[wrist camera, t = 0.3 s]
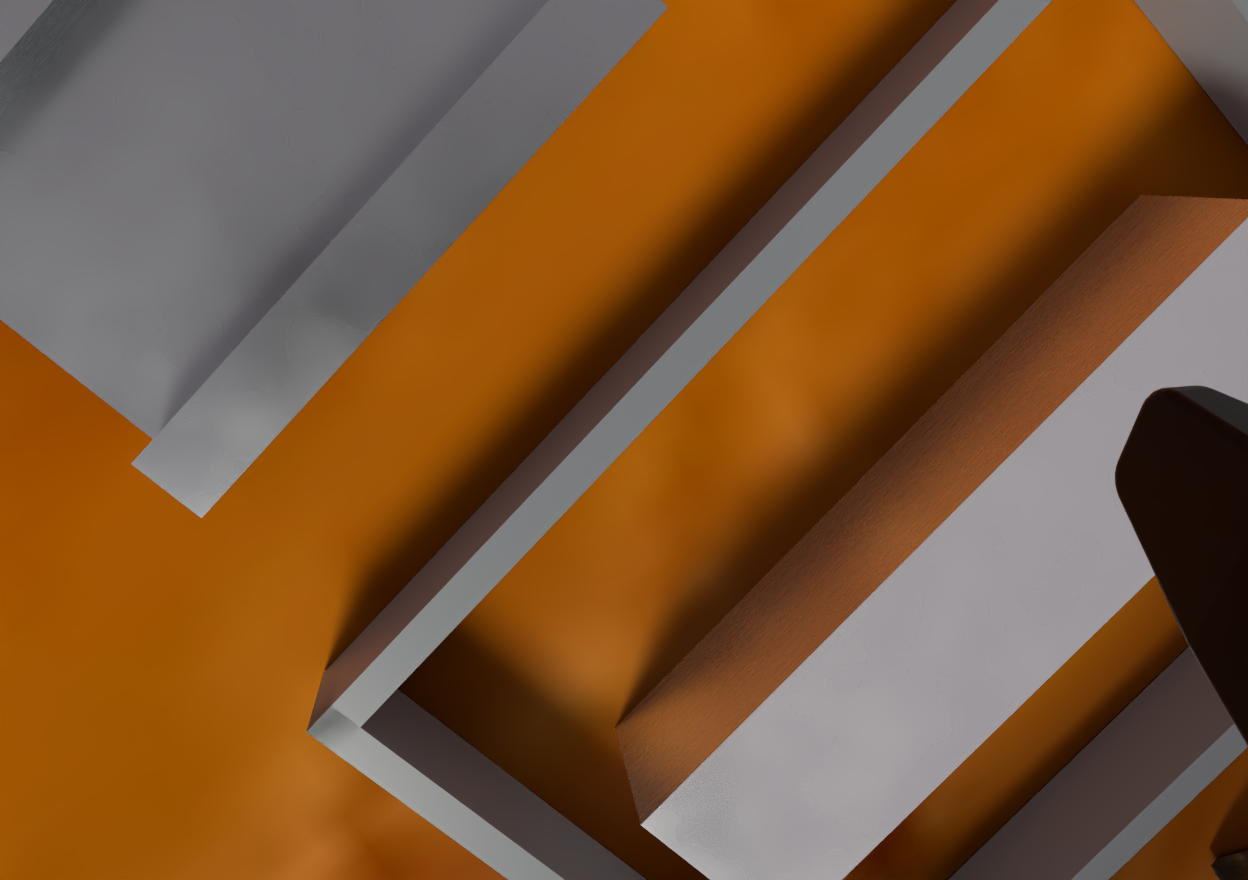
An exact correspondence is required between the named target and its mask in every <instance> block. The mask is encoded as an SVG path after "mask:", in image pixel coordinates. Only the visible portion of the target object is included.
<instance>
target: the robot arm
mask: <svg viewBox="0 0 1248 880" xmlns="http://www.w3.org/2000/svg"><path fill="white" fill-rule="evenodd" d="M1115 485H1116V490H1117V493H1118V496H1119V499H1120V501H1121V503H1122V505H1123V507H1124V509H1125V511H1126V514H1127V516H1128V518H1129V520H1130V522H1131V524H1132V526H1133V529H1134V531H1135V533H1136V535H1137V537H1138V539H1139V542H1140V544H1141V546H1142V548H1143V550H1144V552H1145V554H1146V557H1147V559H1148V561H1149V563H1150V565H1151V567H1152V569H1153V572H1154V574H1155V576H1156V578H1157V580H1158V582H1159V584H1160V587H1161V589H1162V591H1163V593H1164V595H1165V597H1166V599H1167V602H1168V604H1169V606H1170V608H1171V610H1172V612H1173V614H1174V617H1175V619H1176V621H1177V623H1178V625H1179V627H1180V629H1181V631H1182V633H1183V635H1184V637H1185V639H1186V641H1187V643H1188V645H1189V647H1190V649H1191V650H1192V652H1193V654H1194V656H1195V658H1196V659H1197V661H1198V663H1199V665H1200V666H1201V668H1202V670H1203V672H1204V673H1205V675H1206V677H1207V678H1208V680H1209V682H1210V683H1211V685H1212V687H1213V689H1214V690H1215V692H1216V694H1217V695H1218V697H1219V699H1220V700H1221V702H1222V704H1223V705H1224V707H1225V709H1226V710H1227V712H1228V714H1229V715H1230V717H1231V719H1232V720H1233V722H1234V724H1235V726H1236V727H1237V729H1238V731H1239V732H1240V734H1241V736H1242V737H1243V739H1244V741H1245V742H1246V744H1247V746H1248V403H1245V402H1243V401H1241V400H1238V399H1236V398H1233V397H1231V396H1229V395H1226V394H1224V393H1222V392H1219V391H1217V390H1214V389H1212V388H1209V387H1206V386H1198V385H1196V386H1181V387H1167V388H1161V389H1158V390H1156V391H1153V392H1152V393H1151V394H1150V395H1149V396H1148V397H1147V398H1146V399H1145V401H1144V403H1143V405H1142V407H1141V409H1140V411H1139V414H1138V416H1137V418H1136V420H1135V423H1134V425H1133V427H1132V430H1131V432H1130V434H1129V437H1128V439H1127V441H1126V443H1125V446H1124V448H1123V450H1122V453H1121V455H1120V457H1119V460H1118V462H1117V465H1116V470H1115Z"/></svg>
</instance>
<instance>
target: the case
mask: <svg viewBox="0 0 1248 880" xmlns="http://www.w3.org/2000/svg"><path fill="white" fill-rule="evenodd" d="M1051 1H1052V0H957V1H956V2H955V3H954V4H953V5H952V6H951V7H950V8H949V9H948V10H947V11H946V12H945V14H944V15H943V16H942V17H941V18H940V19H939V20H938V21H937V22H936V23H935V24H934V25H933V26H932V27H931V28H930V29H929V30H928V32H927V33H926V34H925V35H924V36H923V37H922V38H921V39H920V40H919V41H918V42H917V43H916V44H915V45H914V46H913V47H912V49H911V50H910V51H909V52H908V53H907V54H906V55H905V56H904V57H903V58H902V59H901V60H900V61H899V62H898V63H897V64H896V66H895V67H894V68H893V69H892V70H891V71H890V72H889V73H888V74H887V75H886V76H885V77H884V78H883V79H882V80H881V81H880V83H879V84H878V85H877V86H876V87H875V88H874V89H873V90H872V91H871V92H870V93H869V94H868V95H867V96H866V97H865V98H864V100H863V101H862V102H861V103H860V104H859V105H858V106H857V107H856V108H855V109H854V110H853V111H852V112H851V113H850V114H849V115H848V117H847V118H846V119H845V120H844V121H843V122H842V123H841V124H840V125H839V126H838V127H837V128H836V129H835V130H834V131H833V132H832V133H831V135H830V136H829V137H828V138H827V139H826V140H825V141H824V142H823V143H822V144H821V145H820V146H819V147H818V148H817V149H816V150H815V152H814V153H813V154H812V155H811V156H810V157H809V158H808V159H807V160H806V161H805V162H804V163H803V164H802V165H801V166H800V167H799V169H798V170H797V171H796V172H795V173H794V174H793V175H792V176H791V177H790V178H789V179H788V180H787V181H786V182H785V183H784V184H783V186H782V187H781V188H780V189H779V190H778V191H777V192H776V193H775V194H774V195H773V196H772V197H771V198H770V199H769V200H768V201H767V203H766V204H765V205H764V206H763V207H762V208H761V209H760V210H759V211H758V212H757V213H756V214H755V215H754V216H753V217H752V218H751V220H750V221H749V222H748V223H747V224H746V225H745V226H744V227H743V228H742V229H741V230H740V231H739V232H738V233H737V234H736V235H735V236H734V238H733V239H732V240H731V241H730V242H729V243H728V244H727V245H726V246H725V247H724V248H723V249H722V250H721V251H720V252H719V253H718V255H717V256H716V257H715V258H714V259H713V260H712V261H711V262H710V263H709V264H708V265H707V266H706V267H705V268H704V269H703V270H702V272H701V273H700V274H699V275H698V276H697V277H696V278H695V279H694V280H693V281H692V282H691V283H690V284H689V285H688V286H687V287H686V289H685V290H684V291H683V292H682V293H681V294H680V295H679V296H678V297H677V298H676V299H675V300H674V301H673V302H672V303H671V304H670V306H669V307H668V308H667V309H666V310H665V311H664V312H663V313H662V314H661V315H660V316H659V317H658V318H657V319H656V320H655V321H654V323H653V324H652V325H651V326H650V327H649V328H648V329H647V330H646V331H645V332H644V333H643V334H642V335H641V336H640V337H639V338H638V339H637V341H636V342H635V343H634V344H633V345H632V346H631V347H630V348H629V349H628V350H627V351H626V352H625V353H624V354H623V355H622V356H621V358H620V359H619V360H618V361H617V362H616V363H615V364H614V365H613V366H612V367H611V368H610V369H609V370H608V371H607V372H606V373H605V375H604V376H603V377H602V378H601V379H600V380H599V381H598V382H597V383H596V384H595V385H594V386H593V387H592V388H591V389H590V390H589V392H588V393H587V394H586V395H585V396H584V397H583V398H582V399H581V400H580V401H579V402H578V403H577V404H576V405H575V406H574V407H573V409H572V410H571V411H570V412H569V413H568V414H567V415H566V416H565V417H564V418H563V419H562V420H561V421H560V422H559V423H558V424H557V426H556V427H555V428H554V429H553V430H552V431H551V432H550V433H549V434H548V435H547V436H546V437H545V438H544V439H543V440H542V441H541V442H540V444H539V445H538V446H537V447H536V448H535V449H534V450H533V451H532V452H531V453H530V454H529V455H528V456H527V457H526V458H525V459H524V461H523V462H522V463H521V464H520V465H519V466H518V467H517V468H516V469H515V470H514V471H513V472H512V473H511V474H510V475H509V476H508V478H507V479H506V480H505V481H504V482H503V483H502V484H501V485H500V486H499V487H498V488H497V489H496V490H495V491H494V492H493V493H492V495H491V496H490V497H489V498H488V499H487V500H486V501H485V502H484V503H483V504H482V505H481V506H480V507H479V508H478V509H477V510H476V512H475V513H474V514H473V515H472V516H471V517H470V518H469V519H468V520H467V521H466V522H465V523H464V524H463V525H462V526H461V527H460V529H459V530H458V531H457V532H456V533H455V534H454V535H453V536H452V537H451V538H450V539H449V540H448V541H447V542H446V543H445V544H444V545H443V547H442V548H441V549H440V550H439V551H438V552H437V553H436V554H435V555H434V556H433V557H432V558H431V559H430V560H429V561H428V562H427V564H426V565H425V566H424V567H423V568H422V569H421V570H420V571H419V572H418V573H417V574H416V575H415V576H414V577H413V578H412V579H411V581H410V582H409V583H408V584H407V585H406V586H405V587H404V588H403V589H402V590H401V591H400V592H399V593H398V594H397V595H396V596H395V598H394V599H393V600H392V601H391V602H390V603H389V604H388V605H387V606H386V607H385V608H384V609H383V610H382V611H381V612H380V613H379V615H378V616H377V617H376V618H375V619H374V620H373V621H372V622H371V623H370V624H369V625H368V626H367V627H366V628H365V629H364V630H363V632H362V633H361V634H360V635H359V636H358V637H357V638H356V639H355V640H354V641H353V642H352V643H351V644H350V645H349V646H348V647H347V648H346V650H345V651H344V652H343V653H342V654H341V655H340V656H339V657H338V658H337V659H336V660H335V661H334V662H333V663H332V664H331V665H330V667H329V668H328V669H327V670H326V671H325V672H324V673H323V676H322V680H321V683H320V687H319V690H318V694H317V697H316V701H315V704H314V708H313V711H312V715H311V718H310V722H309V725H308V729H307V733H308V734H310V735H311V736H313V737H314V738H315V739H317V740H318V741H319V742H321V743H322V744H324V745H325V746H326V747H328V748H329V749H330V750H332V751H333V752H334V753H336V754H337V755H339V756H340V757H341V758H343V759H344V760H345V761H347V762H348V763H349V764H351V765H352V766H354V767H355V768H356V769H358V770H359V771H360V772H362V773H363V774H365V775H366V776H367V777H369V778H370V779H371V780H373V781H374V782H375V783H377V784H378V785H380V786H381V787H382V788H384V789H385V790H386V791H388V792H389V793H391V794H392V795H393V796H395V797H396V798H397V799H399V800H400V801H401V802H403V803H404V804H406V805H407V806H408V807H410V808H411V809H412V810H414V811H415V812H416V813H418V814H419V815H421V816H422V817H423V818H425V819H426V820H427V821H429V822H430V823H432V824H433V825H434V826H436V827H437V828H438V829H440V830H441V831H442V832H444V833H445V834H447V835H448V836H449V837H451V838H452V839H453V840H455V841H456V842H458V843H459V844H460V845H462V846H463V847H464V848H466V849H467V850H468V851H470V852H471V853H473V854H474V855H475V856H477V857H478V858H479V859H481V860H482V861H483V862H485V863H486V864H488V865H489V866H490V867H492V868H493V869H494V870H496V871H497V872H499V873H500V874H501V875H503V876H504V877H505V878H507V879H508V880H646V879H645V878H644V877H642V876H641V875H640V874H639V873H637V872H636V871H635V870H633V869H632V868H631V867H629V866H628V865H627V864H625V863H624V862H623V861H622V860H620V859H619V858H618V857H616V856H615V855H614V854H612V853H611V852H610V851H609V850H607V849H606V848H605V847H603V846H602V845H601V844H599V843H598V842H597V841H595V840H594V839H593V838H592V837H590V836H589V835H588V834H586V833H585V832H584V831H582V830H581V829H580V828H578V827H577V826H576V825H575V824H573V823H572V822H571V821H569V820H568V819H567V818H565V817H564V816H563V815H561V814H560V813H559V812H558V811H556V810H555V809H554V808H552V807H551V806H550V805H548V804H547V803H546V802H545V801H543V800H542V799H541V798H539V797H538V796H537V795H535V794H534V793H533V792H531V791H530V790H529V789H528V788H526V787H525V786H524V785H522V784H521V783H520V782H518V781H517V780H516V779H514V778H513V777H512V776H511V775H509V774H508V773H507V772H505V771H504V770H503V769H501V768H500V767H499V766H497V765H496V764H495V763H494V762H492V761H491V760H490V759H488V758H487V757H486V756H484V755H483V754H482V753H481V752H479V751H478V750H477V749H475V748H474V747H473V746H471V745H470V744H469V743H467V742H466V741H465V740H464V739H462V738H461V737H460V736H458V735H457V734H456V733H454V732H453V731H452V730H450V729H449V728H448V727H447V726H445V725H444V724H443V723H441V722H440V721H439V720H437V719H436V718H435V717H434V716H432V715H431V714H430V713H428V712H427V711H426V710H424V709H423V708H422V707H420V706H419V705H418V704H417V703H415V702H414V701H413V700H411V699H410V698H409V697H407V696H406V695H405V694H403V693H402V692H401V691H400V690H398V689H397V688H398V687H399V686H400V685H401V684H402V683H403V682H404V681H405V680H406V679H407V678H408V677H409V676H410V675H411V674H412V673H413V672H414V671H415V670H416V668H417V667H418V666H419V665H420V664H421V663H422V662H423V661H424V660H425V659H426V658H427V657H428V656H429V655H430V654H431V653H432V652H433V651H434V650H435V648H436V647H437V646H438V645H439V644H440V643H441V642H442V641H443V640H444V639H445V638H446V637H447V636H448V635H449V634H450V633H451V632H452V631H453V630H454V629H455V627H456V626H457V625H458V624H459V623H460V622H461V621H462V620H463V619H464V618H465V617H466V616H467V615H468V614H469V613H470V612H471V611H472V610H473V609H474V607H475V606H476V605H477V604H478V603H479V602H480V601H481V600H482V599H483V598H484V597H485V596H486V595H487V594H488V593H489V592H490V591H491V590H492V589H493V588H494V586H495V585H496V584H497V583H498V582H499V581H500V580H501V579H502V578H503V577H504V576H505V575H506V574H507V573H508V572H509V571H510V570H511V569H512V568H513V566H514V565H515V564H516V563H517V562H518V561H519V560H520V559H521V558H522V557H523V556H524V555H525V554H526V553H527V552H528V551H529V550H530V549H531V548H532V547H533V545H534V544H535V543H536V542H537V541H538V540H539V539H540V538H541V537H542V536H543V535H544V534H545V533H546V532H547V531H548V530H549V529H550V528H551V527H552V525H553V524H554V523H555V522H556V521H557V520H558V519H559V518H560V517H561V516H562V515H563V514H564V513H565V512H566V511H567V510H568V509H569V508H570V507H571V506H572V504H573V503H574V502H575V501H576V500H577V499H578V498H579V497H580V496H581V495H582V494H583V493H584V492H585V491H586V490H587V489H588V488H589V487H590V486H591V484H592V483H593V482H594V481H595V480H596V479H597V478H598V477H599V476H600V475H601V474H602V473H603V472H604V471H605V470H606V469H607V468H608V467H609V466H610V465H611V463H612V462H613V461H614V460H615V459H616V458H617V457H618V456H619V455H620V454H621V453H622V452H623V451H624V450H625V449H626V448H627V447H628V446H629V445H630V443H631V442H632V441H633V440H634V439H635V438H636V437H637V436H638V435H639V434H640V433H641V432H642V431H643V430H644V429H645V428H646V427H647V426H648V425H649V424H650V422H651V421H652V420H653V419H654V418H655V417H656V416H657V415H658V414H659V413H660V412H661V411H662V410H663V409H664V408H665V407H666V406H667V405H668V404H669V403H670V401H671V400H672V399H673V398H674V397H675V396H676V395H677V394H678V393H679V392H680V391H681V390H682V389H683V388H684V387H685V386H686V385H687V384H688V383H689V381H690V380H691V379H692V378H693V377H694V376H695V375H696V374H697V373H698V372H699V371H700V370H701V369H702V368H703V367H704V366H705V365H706V364H707V363H708V362H709V360H710V359H711V358H712V357H713V356H714V355H715V354H716V353H717V352H718V351H719V350H720V349H721V348H722V347H723V346H724V345H725V344H726V343H727V342H728V340H729V339H730V338H731V337H732V336H733V335H734V334H735V333H736V332H737V331H738V330H739V329H740V328H741V327H742V326H743V325H744V324H745V323H746V322H747V321H748V319H749V318H750V317H751V316H752V315H753V314H754V313H755V312H756V311H757V310H758V309H759V308H760V307H761V306H762V305H763V304H764V303H765V302H766V301H767V299H768V298H769V297H770V296H771V295H772V294H773V293H774V292H775V291H776V290H777V289H778V288H779V287H780V286H781V285H782V284H783V283H784V282H785V281H786V280H787V278H788V277H789V276H790V275H791V274H792V273H793V272H794V271H795V270H796V269H797V268H798V267H799V266H800V265H801V264H802V263H803V262H804V261H805V260H806V258H807V257H808V256H809V255H810V254H811V253H812V252H813V251H814V250H815V249H816V248H817V247H818V246H819V245H820V244H821V243H822V242H823V241H824V240H825V239H826V237H827V236H828V235H829V234H830V233H831V232H832V231H833V230H834V229H835V228H836V227H837V226H838V225H839V224H840V223H841V222H842V221H843V220H844V219H845V217H846V216H847V215H848V214H849V213H850V212H851V211H852V210H853V209H854V208H855V207H856V206H857V205H858V204H859V203H860V202H861V201H862V200H863V199H864V198H865V196H866V195H867V194H868V193H869V192H870V191H871V190H872V189H873V188H874V187H875V186H876V185H877V184H878V183H879V182H880V181H881V180H882V179H883V178H884V176H885V175H886V174H887V173H888V172H889V171H890V170H891V169H892V168H893V167H894V166H895V165H896V164H897V163H898V162H899V161H900V160H901V159H902V158H903V157H904V155H905V154H906V153H907V152H908V151H909V150H910V149H911V148H912V147H913V146H914V145H915V144H916V143H917V142H918V141H919V140H920V139H921V138H922V137H923V135H924V134H925V133H926V132H927V131H928V130H929V129H930V128H931V127H932V126H933V125H934V124H935V123H936V122H937V121H938V120H939V119H940V118H941V117H942V116H943V114H944V113H945V112H946V111H947V110H948V109H949V108H950V107H951V106H952V105H953V104H954V103H955V102H956V101H957V100H958V99H959V98H960V97H961V96H962V94H963V93H964V92H965V91H966V90H967V89H968V88H969V87H970V86H971V85H972V84H973V83H974V82H975V81H976V80H977V79H978V78H979V77H980V76H981V75H982V73H983V72H984V71H985V70H986V69H987V68H988V67H989V66H990V65H991V64H992V63H993V62H994V61H995V60H996V59H997V58H998V57H999V56H1000V55H1001V54H1002V52H1003V51H1004V50H1005V49H1006V48H1007V47H1008V46H1009V45H1010V44H1011V43H1012V42H1013V41H1014V40H1015V39H1016V38H1017V37H1018V36H1019V35H1020V34H1021V32H1022V31H1023V30H1024V29H1025V28H1026V27H1027V26H1028V25H1029V24H1030V23H1031V22H1032V21H1033V20H1034V19H1035V18H1036V17H1037V16H1038V15H1039V14H1040V13H1041V11H1042V10H1043V9H1044V8H1045V7H1046V6H1047V5H1048V4H1049V3H1050V2H1051ZM1134 1H1135V3H1136V4H1137V5H1138V6H1139V8H1140V9H1141V10H1142V12H1143V13H1144V14H1145V15H1146V17H1147V18H1148V19H1149V20H1150V22H1151V23H1152V24H1153V26H1154V27H1155V28H1156V29H1157V31H1158V32H1159V33H1160V34H1161V36H1162V37H1163V38H1164V40H1165V41H1166V42H1167V43H1168V45H1169V46H1170V47H1171V49H1172V50H1173V51H1174V52H1175V54H1176V55H1177V56H1178V57H1179V59H1180V60H1181V61H1182V63H1183V64H1184V65H1185V66H1186V68H1187V69H1188V70H1189V71H1190V73H1191V74H1192V75H1193V77H1194V78H1195V79H1196V80H1197V82H1198V83H1199V84H1200V86H1201V87H1202V88H1203V89H1204V91H1205V92H1206V93H1207V94H1208V96H1209V97H1210V98H1211V100H1212V101H1213V102H1214V103H1215V105H1216V106H1217V107H1218V108H1219V110H1220V111H1221V112H1222V114H1223V115H1224V116H1225V117H1226V119H1227V120H1228V121H1229V123H1230V124H1231V125H1232V126H1233V128H1234V129H1235V130H1236V131H1237V133H1238V134H1239V135H1240V137H1241V138H1242V139H1243V140H1244V142H1245V143H1246V144H1247V145H1248V0H1134ZM1247 747H1248V746H1247V744H1246V742H1245V741H1244V739H1243V737H1242V736H1241V734H1240V732H1239V731H1238V729H1237V727H1236V726H1235V724H1234V722H1233V720H1232V719H1231V717H1230V715H1229V714H1228V712H1227V710H1226V709H1225V707H1224V705H1223V704H1222V702H1221V700H1220V699H1219V697H1218V695H1217V694H1216V692H1215V690H1214V689H1213V687H1212V685H1211V683H1210V682H1209V680H1208V678H1207V677H1206V675H1205V673H1204V672H1203V670H1202V668H1201V666H1200V665H1199V663H1198V661H1197V659H1196V658H1195V656H1194V654H1193V652H1192V650H1191V649H1190V647H1188V648H1187V649H1186V650H1185V651H1184V652H1183V653H1182V654H1180V655H1179V656H1178V657H1177V658H1176V659H1175V660H1174V661H1173V662H1172V663H1171V664H1170V665H1169V666H1168V667H1167V668H1166V669H1165V670H1164V671H1163V672H1162V673H1161V674H1160V675H1159V676H1158V677H1157V678H1156V679H1155V680H1154V681H1153V682H1152V683H1151V684H1150V685H1149V686H1147V687H1146V688H1145V689H1144V690H1143V691H1142V692H1141V693H1140V694H1139V695H1138V696H1137V697H1136V698H1135V699H1134V700H1133V701H1132V702H1131V703H1130V704H1129V705H1128V706H1127V707H1126V708H1125V709H1124V710H1123V711H1122V712H1121V713H1120V714H1119V715H1118V716H1117V717H1115V718H1114V719H1113V720H1112V721H1111V722H1110V723H1109V724H1108V725H1107V726H1106V727H1105V728H1104V729H1103V730H1102V731H1101V732H1100V733H1099V734H1098V735H1097V736H1096V737H1095V738H1094V739H1093V740H1092V741H1091V742H1090V743H1089V744H1088V745H1087V746H1086V747H1085V748H1083V749H1082V750H1081V751H1080V752H1079V753H1078V754H1077V755H1076V756H1075V757H1074V758H1073V759H1072V760H1071V761H1070V762H1069V763H1068V764H1067V765H1066V766H1065V767H1064V768H1063V769H1062V770H1061V771H1060V772H1059V773H1058V774H1057V775H1056V776H1055V777H1054V778H1053V779H1052V780H1050V781H1049V782H1048V783H1047V784H1046V785H1045V786H1044V787H1043V788H1042V789H1041V790H1040V791H1039V792H1038V793H1037V794H1036V795H1035V796H1034V797H1033V798H1032V799H1031V800H1030V801H1029V802H1028V803H1027V804H1026V805H1025V806H1024V807H1023V808H1022V809H1021V810H1020V811H1018V812H1017V813H1016V814H1015V815H1014V816H1013V817H1012V818H1011V819H1010V820H1009V821H1008V822H1007V823H1006V824H1005V825H1004V826H1003V827H1002V828H1001V829H1000V830H999V831H998V832H997V833H996V834H995V835H994V836H993V837H992V838H991V839H990V840H989V841H988V842H987V843H985V844H984V845H983V846H982V847H981V848H980V849H979V850H978V851H977V852H976V853H975V854H974V855H973V856H972V857H971V858H970V859H969V860H968V861H967V862H966V863H965V864H964V865H963V866H962V867H961V868H960V869H959V870H958V871H957V872H956V873H955V874H953V875H952V876H951V877H950V878H949V879H948V880H1109V879H1110V878H1111V877H1112V876H1113V875H1114V874H1115V873H1116V872H1117V871H1118V870H1119V869H1120V868H1121V867H1122V866H1123V865H1124V864H1125V863H1127V862H1128V861H1129V860H1130V859H1131V858H1132V857H1133V856H1134V855H1135V854H1136V853H1137V852H1138V851H1139V850H1140V849H1141V848H1142V847H1143V846H1144V845H1145V844H1146V843H1148V842H1149V841H1150V840H1151V839H1152V838H1153V837H1154V836H1155V835H1156V834H1157V833H1158V832H1159V831H1160V830H1161V829H1162V828H1163V827H1164V826H1165V825H1166V824H1167V823H1169V822H1170V821H1171V820H1172V819H1173V818H1174V817H1175V816H1176V815H1177V814H1178V813H1179V812H1180V811H1181V810H1182V809H1183V808H1184V807H1185V806H1186V805H1187V804H1188V803H1189V802H1191V801H1192V800H1193V799H1194V798H1195V797H1196V796H1197V795H1198V794H1199V793H1200V792H1201V791H1202V790H1203V789H1204V788H1205V787H1206V786H1207V785H1208V784H1209V783H1210V782H1212V781H1213V780H1214V779H1215V778H1216V777H1217V776H1218V775H1219V774H1220V773H1221V772H1222V771H1223V770H1224V769H1225V768H1226V767H1227V766H1228V765H1229V764H1230V763H1231V762H1233V761H1234V760H1235V759H1236V758H1237V757H1238V756H1239V755H1240V754H1241V753H1242V752H1243V751H1244V750H1245V749H1246V748H1247Z"/></svg>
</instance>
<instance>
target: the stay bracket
mask: <svg viewBox="0 0 1248 880" xmlns="http://www.w3.org/2000/svg"><path fill="white" fill-rule="evenodd" d="M667 8H668V7H667V6H666V5H665V4H664V3H663V2H662V1H661V0H0V320H2V321H3V322H4V323H6V324H7V325H8V326H9V327H11V328H12V329H13V330H14V331H16V332H17V333H18V334H20V335H21V336H22V337H23V338H25V339H26V340H27V341H28V342H30V343H31V344H32V345H34V346H35V347H36V348H37V349H39V350H40V351H41V352H43V353H44V354H45V355H46V356H48V357H49V358H50V359H51V360H53V361H54V362H55V363H57V364H58V365H59V366H60V367H62V368H63V369H64V370H65V371H67V372H68V373H69V374H71V375H72V376H73V377H74V378H76V379H77V380H78V381H80V382H81V383H82V384H83V385H85V386H86V387H87V388H88V389H90V390H91V391H92V392H94V393H95V394H96V395H97V396H99V397H100V398H101V399H102V400H104V401H105V402H106V403H108V404H109V405H110V406H111V407H113V408H114V409H115V410H117V411H118V412H119V413H120V414H122V415H123V416H124V417H125V418H127V419H128V420H129V421H131V422H132V423H133V424H134V425H136V426H137V427H138V428H139V429H141V430H142V431H143V432H145V433H146V434H147V435H148V436H150V437H151V438H152V439H153V440H152V441H151V442H150V443H149V445H148V446H147V447H146V448H145V449H144V450H143V451H142V452H141V453H140V455H139V456H138V457H137V458H136V459H135V460H134V461H133V462H132V463H131V464H132V465H133V466H134V467H136V468H137V469H138V470H140V471H141V472H142V473H143V474H145V475H146V476H147V477H149V478H150V479H151V480H152V481H154V482H155V483H156V484H158V485H159V486H160V487H162V488H163V489H164V490H165V491H167V492H168V493H169V494H171V495H172V496H173V497H174V498H176V499H177V500H178V501H180V502H181V503H182V504H184V505H185V506H186V507H187V508H189V509H190V510H191V511H193V512H194V513H195V514H197V515H198V516H199V517H200V518H202V517H203V516H204V515H205V514H206V513H207V512H208V511H209V510H210V508H211V507H212V506H213V505H214V504H215V503H216V502H217V501H218V500H219V499H220V497H221V496H222V495H223V494H224V493H225V492H226V491H227V490H228V489H229V488H230V487H231V485H232V484H233V483H234V482H235V481H236V480H237V479H238V478H239V477H240V476H241V474H242V473H243V472H244V471H245V470H246V469H247V468H248V467H249V466H250V465H251V464H252V462H253V461H254V460H255V459H256V458H257V457H258V456H259V455H260V454H261V453H262V452H263V450H264V449H265V448H266V447H267V446H268V445H269V444H270V443H271V442H272V441H273V439H274V438H275V437H276V436H277V435H278V434H279V433H280V432H281V431H282V430H283V429H284V427H285V426H286V425H287V424H288V423H289V422H290V421H291V420H292V419H293V418H294V416H295V415H296V414H297V413H298V412H299V411H300V410H301V409H302V408H303V407H304V406H305V404H306V403H307V402H308V401H309V400H310V399H311V398H312V397H313V396H314V395H315V393H316V392H317V391H318V390H319V389H320V388H321V387H322V386H323V385H324V384H325V383H326V381H327V380H328V379H329V378H330V377H331V376H332V375H333V374H334V373H335V372H336V370H337V369H338V368H339V367H340V366H341V365H342V364H343V363H344V362H345V361H346V360H347V358H348V357H349V356H350V355H351V354H352V353H353V352H354V351H355V350H356V349H357V348H358V346H359V345H360V344H361V343H362V342H363V341H364V340H365V339H366V338H367V337H368V335H369V334H370V333H371V332H372V331H373V330H374V329H375V328H376V327H377V326H378V325H379V323H380V322H381V321H382V320H383V319H384V318H385V317H386V316H387V315H388V314H389V312H390V311H391V310H392V309H393V308H394V307H395V306H396V305H397V304H398V303H399V302H400V300H401V299H402V298H403V297H404V296H405V295H406V294H407V293H408V292H409V291H410V289H411V288H412V287H413V286H414V285H415V284H416V283H417V282H418V281H419V280H420V279H421V277H422V276H423V275H424V274H425V273H426V272H427V271H428V270H429V269H430V268H431V266H432V265H433V264H434V263H435V262H436V261H437V260H438V259H439V258H440V257H441V256H442V254H443V253H444V252H445V251H446V250H447V249H448V248H449V247H450V246H451V245H452V244H453V242H454V241H455V240H456V239H457V238H458V237H459V236H460V235H461V234H462V233H463V231H464V230H465V229H466V228H467V227H468V226H469V225H470V224H471V223H472V222H473V221H474V219H475V218H476V217H477V216H478V215H479V214H480V213H481V212H482V211H483V210H484V208H485V207H486V206H487V205H488V204H489V203H490V202H491V201H492V200H493V199H494V198H495V196H496V195H497V194H498V193H499V192H500V191H501V190H502V189H503V188H504V187H505V185H506V184H507V183H508V182H509V181H510V180H511V179H512V178H513V177H514V176H515V175H516V173H517V172H518V171H519V170H520V169H521V168H522V167H523V166H524V165H525V164H526V162H527V161H528V160H529V159H530V158H531V157H532V156H533V155H534V154H535V153H536V152H537V150H538V149H539V148H540V147H541V146H542V145H543V144H544V143H545V142H546V141H547V140H548V138H549V137H550V136H551V135H552V134H553V133H554V132H555V131H556V130H557V129H558V127H559V126H560V125H561V124H562V123H563V122H564V121H565V120H566V119H567V118H568V117H569V115H570V114H571V113H572V112H573V111H574V110H575V109H576V108H577V107H578V106H579V104H580V103H581V102H582V101H583V100H584V99H585V98H586V97H587V96H588V95H589V94H590V92H591V91H592V90H593V89H594V88H595V87H596V86H597V85H598V84H599V83H600V81H601V80H602V79H603V78H604V77H605V76H606V75H607V74H608V73H609V72H610V71H611V69H612V68H613V67H614V66H615V65H616V64H617V63H618V62H619V61H620V60H621V58H622V57H623V56H624V55H625V54H626V53H627V52H628V51H629V50H630V49H631V48H632V46H633V45H634V44H635V43H636V42H637V41H638V40H639V39H640V38H641V37H642V36H643V34H644V33H645V32H646V31H647V30H648V29H649V28H650V27H651V26H652V25H653V23H654V22H655V21H656V20H657V19H658V18H659V17H660V16H661V15H662V14H663V13H664V11H665V10H666V9H667Z"/></svg>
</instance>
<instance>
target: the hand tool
mask: <svg viewBox="0 0 1248 880" xmlns="http://www.w3.org/2000/svg"><path fill="white" fill-rule="evenodd" d="M1211 866H1212V868H1213V870H1214V871H1215V874H1216V875H1217V877H1218V878H1219V879H1220V880H1248V850H1245V851H1242V852H1239V853H1235V854H1232V855H1227V856H1223V857H1219V858H1218V859H1217V860H1216V861H1215V862H1214V863H1213V864H1212V865H1211Z"/></svg>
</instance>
